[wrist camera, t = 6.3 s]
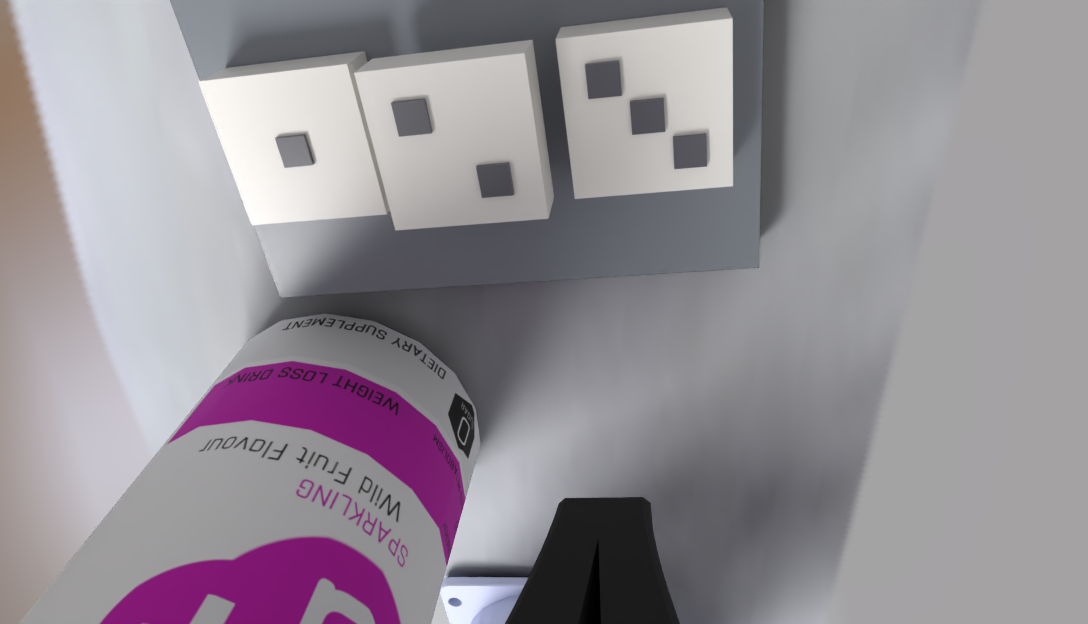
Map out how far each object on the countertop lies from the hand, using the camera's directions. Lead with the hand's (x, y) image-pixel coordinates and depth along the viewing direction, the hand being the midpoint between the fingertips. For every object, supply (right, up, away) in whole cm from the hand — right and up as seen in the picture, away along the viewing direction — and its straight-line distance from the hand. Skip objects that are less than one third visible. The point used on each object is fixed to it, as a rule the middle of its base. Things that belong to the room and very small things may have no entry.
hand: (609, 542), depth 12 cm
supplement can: (-7, +1, +13) cm, 14 cm away
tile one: (-6, +9, +8) cm, 14 cm away
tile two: (-2, +9, +7) cm, 11 cm away
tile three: (+2, +10, +7) cm, 12 cm away
